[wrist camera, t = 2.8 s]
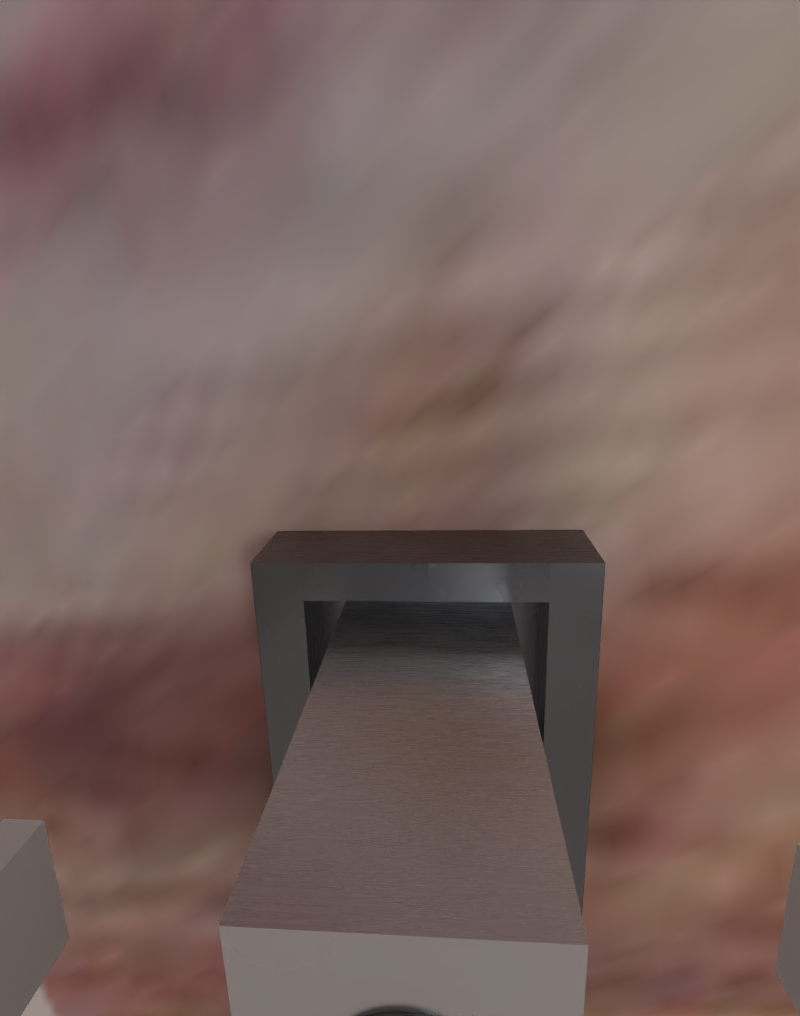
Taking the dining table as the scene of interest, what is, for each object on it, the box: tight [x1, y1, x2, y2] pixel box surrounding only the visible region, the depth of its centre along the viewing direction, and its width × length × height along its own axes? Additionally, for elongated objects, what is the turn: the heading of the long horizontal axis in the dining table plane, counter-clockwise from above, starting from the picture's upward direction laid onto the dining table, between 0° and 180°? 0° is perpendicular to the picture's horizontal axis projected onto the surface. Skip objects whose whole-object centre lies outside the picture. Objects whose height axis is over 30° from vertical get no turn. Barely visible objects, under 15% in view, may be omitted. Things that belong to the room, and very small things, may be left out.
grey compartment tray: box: [250, 530, 605, 915], centre depth 19 cm, size 22×9×2 cm, turn 2°
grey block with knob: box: [219, 601, 588, 1016], centre depth 13 cm, size 4×4×10 cm
